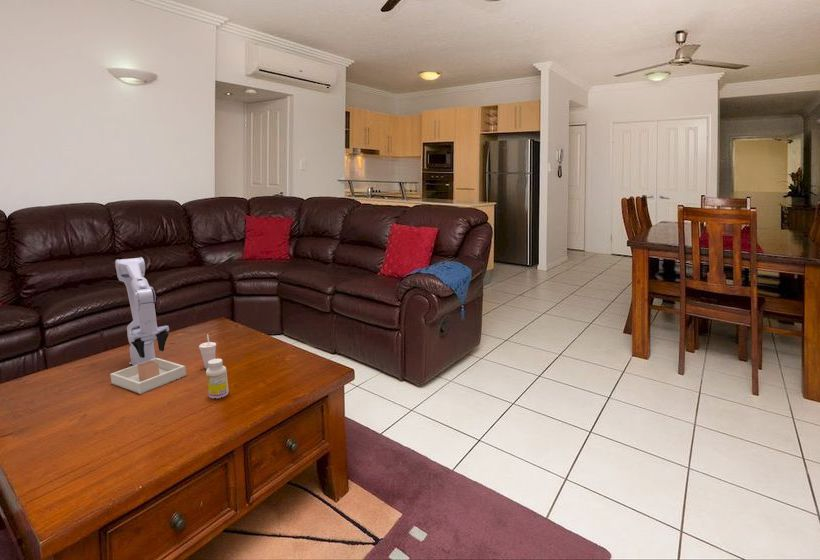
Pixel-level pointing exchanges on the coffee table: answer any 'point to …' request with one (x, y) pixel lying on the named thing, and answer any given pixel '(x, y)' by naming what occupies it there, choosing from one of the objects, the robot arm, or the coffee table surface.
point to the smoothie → (207, 351)
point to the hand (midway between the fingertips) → (152, 353)
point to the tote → (131, 379)
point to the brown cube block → (148, 370)
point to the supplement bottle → (216, 379)
